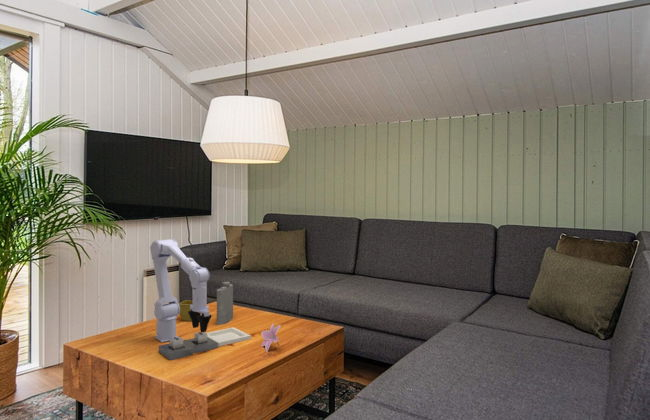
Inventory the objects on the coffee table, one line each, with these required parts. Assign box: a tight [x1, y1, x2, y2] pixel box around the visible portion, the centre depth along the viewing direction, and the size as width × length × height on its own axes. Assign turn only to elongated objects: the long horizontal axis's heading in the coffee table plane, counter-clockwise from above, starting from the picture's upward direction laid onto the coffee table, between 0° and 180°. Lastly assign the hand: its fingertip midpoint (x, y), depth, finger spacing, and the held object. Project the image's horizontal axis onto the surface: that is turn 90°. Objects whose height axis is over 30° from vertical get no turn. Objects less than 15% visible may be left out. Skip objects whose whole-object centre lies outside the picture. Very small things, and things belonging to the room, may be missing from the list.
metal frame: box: [158, 337, 218, 361], centre depth 185 cm, size 12×20×2 cm, turn 130°
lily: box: [260, 323, 282, 353], centre depth 189 cm, size 12×12×10 cm
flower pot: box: [178, 299, 192, 322], centre depth 229 cm, size 9×9×9 cm
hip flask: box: [216, 281, 234, 326], centre depth 226 cm, size 16×4×20 cm, turn 170°
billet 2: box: [193, 331, 208, 345], centre depth 188 cm, size 4×4×6 cm
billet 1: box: [169, 336, 184, 350], centre depth 181 cm, size 4×4×6 cm
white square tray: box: [206, 327, 252, 348], centre depth 199 cm, size 16×16×2 cm
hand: (199, 329), depth 188 cm, fingers open, 7 cm apart
